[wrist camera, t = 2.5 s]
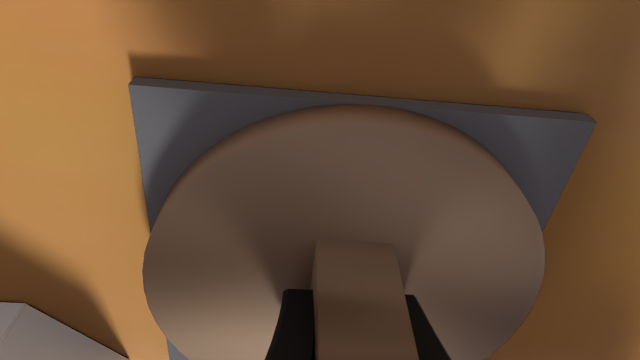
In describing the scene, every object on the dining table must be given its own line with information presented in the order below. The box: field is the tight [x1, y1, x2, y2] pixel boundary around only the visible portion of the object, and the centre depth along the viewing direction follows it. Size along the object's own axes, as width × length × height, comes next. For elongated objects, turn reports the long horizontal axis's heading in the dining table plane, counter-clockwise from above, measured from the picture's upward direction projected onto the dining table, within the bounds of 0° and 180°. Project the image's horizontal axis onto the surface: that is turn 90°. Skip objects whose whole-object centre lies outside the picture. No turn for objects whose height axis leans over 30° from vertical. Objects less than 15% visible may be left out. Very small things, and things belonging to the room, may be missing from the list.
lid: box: [143, 104, 546, 360], centre depth 11 cm, size 10×10×4 cm
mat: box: [129, 77, 597, 360], centre depth 13 cm, size 10×10×1 cm
